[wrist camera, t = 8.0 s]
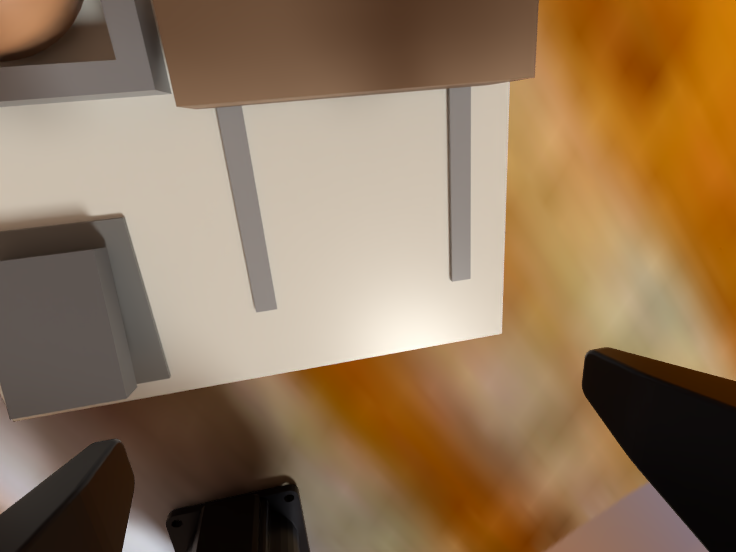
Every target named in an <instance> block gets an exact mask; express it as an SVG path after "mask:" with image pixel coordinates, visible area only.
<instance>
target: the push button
mask: <svg viewBox="0 0 736 552" xmlns="http://www.w3.org/2000/svg"><path fill="white" fill-rule="evenodd" d="M83 2H84V0H0V62H4V61H12V60H19V59H22V58H26V57H29V56H32V55H35V54H37V53H39V52H41V51H43V50H45V49H47V48H48V47H50V46H51V45H53V44H54V43H56V42H57V41H58V40H59V39H60V38H61V37H62V36H63V35H64V34H65V33H66V32H67V31H68V29H69V28H70V27H71V26H72V24H73V23H74V21H75V20H76V18H77V16H78V14H79V12H80V10H81V7H82V4H83Z"/></svg>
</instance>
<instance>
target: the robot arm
mask: <svg viewBox="0 0 736 552" xmlns="http://www.w3.org/2000/svg"><path fill="white" fill-rule="evenodd" d="M582 389H583V392H584V394H585V396H586V398H587V399H588V401H589V402H590V404H591V405H592V406H593V408H594V409H595V411H596V412H597V414H598V415H599V416H600V418H601V419H602V421H603V422H604V423H605V425H606V426H607V428H608V429H609V430H610V432H611V433H612V435H613V436H614V437H615V439H616V440H617V442H618V443H619V444H620V446H621V447H622V449H623V450H624V451H625V453H626V454H627V455H628V457H629V458H630V459H631V461H632V462H633V463H634V464H635V466H636V467H637V468H638V469H639V470H640V472H641V473H642V474H643V475H644V476H645V477H646V479H647V480H648V481H649V482H650V483H651V484H652V486H653V487H654V488H655V489H656V490H657V491H658V493H659V494H660V495H661V496H662V497H663V498H664V500H665V501H666V502H667V503H668V504H669V506H670V507H671V508H672V509H673V510H674V511H675V513H676V514H677V515H678V516H679V517H680V518H681V520H682V521H683V522H684V523H685V524H686V525H687V526H688V528H689V529H690V530H691V531H692V532H693V534H694V535H695V536H696V537H697V538H698V539H699V541H700V542H701V543H702V544H703V545H704V546H705V548H706V549H707V550H708V551H709V552H736V381H733V380H729V379H725V378H722V377H718V376H714V375H710V374H707V373H703V372H699V371H695V370H692V369H688V368H684V367H680V366H677V365H673V364H669V363H665V362H662V361H658V360H654V359H650V358H647V357H643V356H639V355H635V354H632V353H628V352H624V351H620V350H617V349H613V348H609V347H604V348H599V349H593V350H590V351H588V352H587V354H586V355H585V361H584V369H583V378H582ZM134 485H135V482H134V474H133V471H132V468H131V465H130V462H129V460H128V457H127V454H126V451H125V448H124V445H123V443H122V442H121V441H120V440H118V439H111V440H106V441H101V442H95V443H93V444H91V445H89V446H88V447H87V448H86V449H84V450H83V451H82V452H80V453H79V454H78V455H77V456H75V457H74V458H73V459H71V460H70V461H69V462H68V463H66V464H65V465H64V466H62V467H61V468H60V469H58V470H57V471H56V472H55V473H53V474H52V475H51V476H49V477H48V478H47V479H46V480H44V481H43V482H42V483H40V484H39V485H38V486H37V487H35V488H34V489H33V490H31V491H30V492H29V493H28V494H26V495H25V496H24V497H22V498H21V499H20V500H18V501H17V502H16V503H15V504H13V505H12V506H11V507H9V508H8V509H7V510H6V511H4V512H3V513H2V514H0V552H122V548H123V543H124V538H125V533H126V528H127V523H128V518H129V513H130V508H131V503H132V498H133V493H134ZM290 494H291V495H290ZM286 495H290V496H286ZM177 520H180V521H177ZM166 527H167V530H168V533H169V535H170V538H171V541H172V544H173V547H174V550H175V552H310V548H309V543H308V537H307V532H306V527H305V521H304V516H303V511H302V505H301V500H300V495H299V490H298V488H297V487H296V486H295V485H285V486H280V487H275V488H271V489H266V490H262V491H257V492H253V493H248V494H244V495H239V496H235V497H230V498H226V499H221V500H217V501H212V502H208V503H203V504H199V505H194V506H190V507H185V508H181V509H176V510H173V511H172V512H170V513H169V515H168V518H167V522H166Z"/></svg>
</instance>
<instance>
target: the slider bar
mask: <svg viewBox="0 0 736 552" xmlns="http://www.w3.org/2000/svg"><path fill="white" fill-rule="evenodd" d="M152 1H153V5H154V10H155V14H156V19H157V23H158V27H159V32H160V36H161V41H162V45H163V50H164V54H165V58H166V63H167V67H168V72H169V76H170V81H171V85H172V89H173V94H174V98H175V103H176V107H182V108H190V109H207V108H219V107H231V106H243V105H255V104H268V103H280V102H292V101H304V100H316V99H328V98H340V97H352V96H364V95H376V94H388V93H400V92H412V91H424V90H436V89H448V88H460V87H473V86H485V85H492V84H498V83H505V82H511V81H517V80H523V79H529V78H535V62H536V42H537V23H538V3H539V0H152Z"/></svg>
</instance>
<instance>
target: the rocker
mask: <svg viewBox="0 0 736 552" xmlns="http://www.w3.org/2000/svg"><path fill="white" fill-rule="evenodd" d="M0 385H1V388H2V392H3V396H4V399H5V403H6V407H7V410H8V414H9V418H10V420H11V419H17V418H22V417H28V416H33V415H39V414H45V413H50V412H56V411H61V410H67V409H72V408H78V407H84V406H89V405H95V404H100V403H106V402H111V401H117V400H122V399H127V398H128V397H129V396H130V395H131V394H132V392H133V391H134V390H135V389H136V388H137V383H136V378H135V374H134V369H133V365H132V360H131V356H130V351H129V347H128V342H127V338H126V333H125V328H124V324H123V319H122V315H121V310H120V306H119V301H118V297H117V292H116V288H115V283H114V278H113V274H112V269H111V265H110V260H109V256H108V251H107V247H105V248H97V249H89V250H81V251H73V252H65V253H58V254H50V255H42V256H34V257H26V258H18V259H10V260H3V261H0Z"/></svg>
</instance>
